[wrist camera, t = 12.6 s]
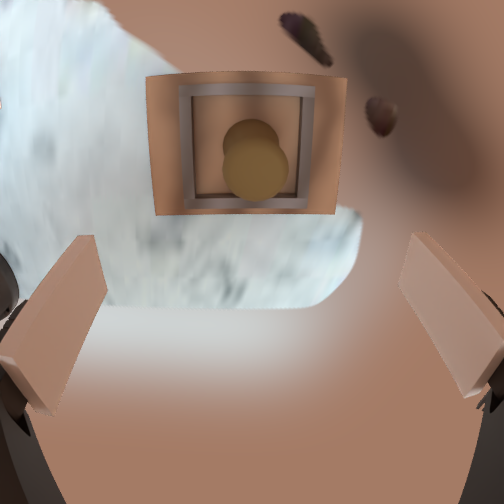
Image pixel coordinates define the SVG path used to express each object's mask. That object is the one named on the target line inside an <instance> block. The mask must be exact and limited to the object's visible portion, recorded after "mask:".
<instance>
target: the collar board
mask: <svg viewBox="0 0 504 504" xmlns="http://www.w3.org/2000/svg"><path fill="white" fill-rule="evenodd" d="M346 90H347V78H340V77H332V76H322V75H312V74H300V73H285V72H259V71H225V72H224V71H222V72H197V73H181V74H169V75H159V76H150V77H146V104H147V124H148V140H149V153H150V165H151V176H152V186H153V196H154V205H155V213H156V216H157V215H198V214H334V215H335V209H336V201H337V193H338V184H339V175H340V166H341V165H340V164H341V155H342V144H343V131H344V121H345V107H346ZM245 119H257V120H262V121H263V122H265V123H267V124H269V125H270V126H271V127H272V128H273V129H274V130H275V132H276V134H277V136H278V138H279V146H280V148H281V149H282V150H283V151H284V153H285V155H286V157H287V160H288V165H289V173H288V177H287V181H286V183H285V185H284V186H283V188H282V189H281V191H280V192H278V193H277V194H276V195H275V196H274V197H272V198H269V199H267V200H264V201H256V202H253V201H248V200H244V199H242V198H240V197H238V196H236V195H235V194H234V193H233V192H232V191H231V190H230V189H229V188H228V186H227V184H226V182H225V181H224V179H223V172H222V166H223V161H224V157H225V156H224V153H223V140H224V136H225V135H226V133H227V131H228V129H229V128H231V127H232V126H233V125H234V124H235V123H237V122H239V121H242V120H245Z"/></svg>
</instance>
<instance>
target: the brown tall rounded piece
mask: <svg viewBox="0 0 504 504" xmlns="http://www.w3.org/2000/svg"><path fill="white" fill-rule="evenodd" d="M223 153H224V156H225V157H224V161H223V166H222V172H223V179H224V181H225V182H226V184H227V186H228V188H229V189H230V190H231V191H232V192H233V193H234V194H235V195H236V196H238V197H240V198H242V199H244V200H248V201H253V202H256V201H264V200H267V199H269V198H272V197H274V196H275V195H276V194H277V193H278V192H280V191H281V189H282V188H283V186H284V185H285V183H286V181H287V177H288V173H289V165H288V160H287V157H286V155H285V153H284V151H283V150H282V149H281V148H280V146H279V138H278V136H277V134H276V132H275V130H274V129H273V128H272V127H271V126H270V125H269V124H267V123H265V122H263V121H262V120H257V119H245V120H242V121H239V122H237V123H235V124H234V125H233V126H232V127H231V128H229V129H228V131H227V133H226V135H225V136H224V140H223Z"/></svg>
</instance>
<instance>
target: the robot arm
mask: <svg viewBox="0 0 504 504" xmlns="http://www.w3.org/2000/svg"><path fill="white" fill-rule="evenodd" d="M398 287H399V288H400V290H401V291H402V293H403V294H404V296H405V297H406V299H407V301H408V302H409V304H410V305H411V307H412V308H413V310H414V312H415V313H416V315H417V316H418V318H419V320H420V321H421V323H422V325H423V326H424V328H425V330H426V331H427V333H428V334H429V336H430V338H431V340H432V341H433V343H434V345H435V346H436V348H437V350H438V352H439V353H440V355H441V357H442V359H443V360H444V362H445V364H446V366H447V367H448V369H449V371H450V373H451V375H452V376H453V378H454V380H455V382H456V384H457V386H458V388H459V390H460V392H461V394H462V396H463V397H464V398H467V397H470V396H472V395H476V394H478V393H480V391H481V390H482V389H483V387H484V386H485V384H486V383H487V382H488V383H489V385H490V387H491V388H490V390H489V391H488V392H487V394H486V395H485V396H484V397H483V399H482V400H481V401H480V402H479V404H478V406H477V409H479V408H480V407H481V406H482V404H483V403H485V407H484V408H483V409H482V411H484V413H483V418H482V423H481V428H480V432H479V437H478V441H477V445H476V449H475V453H474V457H473V460H472V464H471V467H470V471H469V474H468V477H467V481H466V483H465V486H464V489H463V492H462V495H461V498H460V501H459V503H458V504H504V314H503V312H502V310H501V309H500V308H498V306H497V304H496V303H495V302H494V301H493V300H492V298H491V297H490V296H488V295H487V294H486V293H484V292H483V291H482V290H480V289H479V287H478V286H477V285H476V284H475V283H474V282H473V281H472V280H471V279H470V278H469V276H468V275H467V274H466V273H465V272H464V271H463V270H462V269H461V268H460V267H459V265H458V264H457V263H456V262H455V261H454V260H453V259H452V258H451V257H450V256H449V255H448V254H447V253H446V252H445V251H444V250H443V249H442V248H441V247H440V245H438V243H437V242H436V241H435V240H434V239H432V238H431V236H429V235H428V234H427V233H426V232H412V236H411V239H410V243H409V247H408V251H407V254H406V258H405V262H404V265H403V269H402V272H401V275H400V279H399V282H398ZM107 291H108V289H107V286H106V282H105V279H104V275H103V271H102V267H101V264H100V260H99V256H98V252H97V247H96V243H95V239H94V235H81V236H77V237H76V238H75V240H74V241H73V242H72V243H71V245H70V246H69V247H68V248H67V249H66V251H65V252H64V253H63V254H62V256H61V257H60V258H59V259H58V261H57V262H56V263H55V265H54V266H53V267H52V268H51V270H50V271H49V272H48V274H47V275H46V276H45V278H44V279H43V280H42V282H41V283H40V284H39V286H38V287H37V289H36V290H35V291H34V293H33V294H32V296H31V297H30V298H29V300H25V301H24V302H22V303H21V304H20V305H19V306H17V307H16V308H15V306H16V304H17V302H18V298H19V292H18V286H17V282H16V280H15V277H14V275H13V273H12V271H11V269H10V267H9V265H8V264H7V262H6V261H5V260H4V258H3V257H2V256H1V255H0V320H2V319H4V318H5V317H7V316H8V315H9V314H10V313H11V312H12V310H13V309H14V308H15V310H14V311H13V312H12V314H11V315H10V317H9V318H8V319H9V320H7V321H6V323H5V324H4V326H3V329H1V330H0V504H66V502H65V500H64V498H63V496H62V494H61V492H60V490H59V488H58V486H57V484H56V482H55V480H54V478H53V476H52V474H51V471H50V470H49V467H48V465H47V462H46V460H45V458H44V456H43V453H42V450H41V448H40V446H39V443H38V440H37V438H36V435H35V432H34V430H33V427H32V424H31V421H30V418H29V416H28V414H27V412H26V410H25V407H26V404H27V402H28V403H29V404H30V405H31V407H32V408H33V409H34V410H35V411H36V412H38V413H42V414H45V415H50V416H55V413H56V411H57V408H58V405H59V402H60V399H61V397H62V394H63V392H64V389H65V386H66V384H67V381H68V379H69V376H70V374H71V371H72V369H73V366H74V364H75V361H76V359H77V357H78V354H79V352H80V349H81V347H82V345H83V343H84V340H85V338H86V336H87V334H88V331H89V329H90V327H91V325H92V323H93V320H94V318H95V316H96V314H97V312H98V310H99V308H100V306H101V304H102V301H103V299H104V297H105V295H106V293H107Z"/></svg>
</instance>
